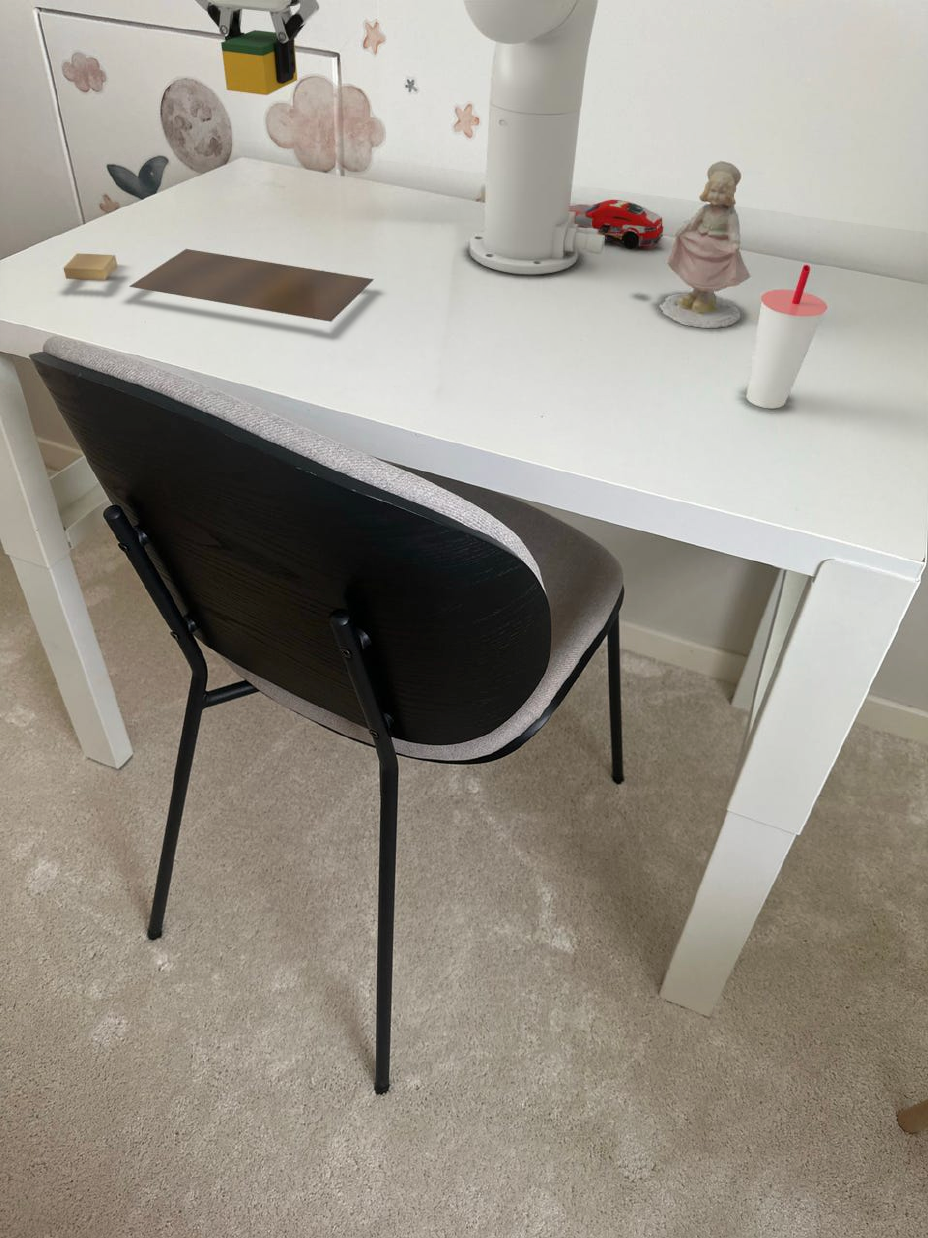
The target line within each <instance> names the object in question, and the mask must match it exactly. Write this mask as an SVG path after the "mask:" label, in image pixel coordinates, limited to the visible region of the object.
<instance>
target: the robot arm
mask: <svg viewBox="0 0 928 1238" xmlns="http://www.w3.org/2000/svg"><path fill="white" fill-rule="evenodd" d="M195 2H196V3H197V4H198V5H199V6H200V7H201V8H202V9H203V10H204V11H205V12H207V14H208V16H209V18H210V19H211V21H213V22H214V24H215V25H216V26H217V28H218V30H219V34H220V35H221V36H222V37H224V41H227V40H229V39H232V38H235V37H237V36H240V35H243V34H245V32H242V30H241V27H242V26H241V23H242V16H243V10H251V11H257V12H258V11H259V12H269V16H270V18H271V21H272V25H273V28H274V32H276V35H277V42H275V43H274V54H275V65H276V76H277V82H278V83H280V84H284V83H286V82H288V81H290V80H292V79H293V77H294V73H295V69H297V66H296V67H295V55H296V53H295V54H294V43H295V39H297V37H298V34H299V33H300V32H301V30H302V29H303V28H304V27H305V25H306V24H307V22H308V21H310V20H311V19H312V18H313V17H314V16H315V15H316V14H317V12H319V10H320V4H319V2H318V1H317V0H195ZM598 3H599V0H463V4H464V7H465V10H466V13H467V15H468V17H469V18H470V20H471V22H472V24H473V25H474V26H475V27H476V29H477V30H478V31H479V32H480V33H481V35H483V36H485V37H486V38H488V39H489V40H491V41H494V42H495V45H494V52H493V58H492V68H491V76H490V94H489V98H490V99H489V108H488V109H489V110H488V127H487V128H488V129H487V149H486V151H487V152H486V153H487V154H486V169H485V170H486V171H485V172H486V173H485V174H486V175H485V191H484V193H485V194H484V211H483V212H484V216H483V230H481V231H479V232H477V233H476V234H474V235H473V236H471V239H470V240H469V245H468V247H469V248H468V249H469V254H470V257H471V258H472V259H473V260H474V261H476V262H477V263H478V264H480V265H481V266H484V267H487V268H489V269H492V270H495V271H499V272H503V273H509V274H515V275H546V274H553V273H557V272H561V271H563V270H567V269H568V268H570V267H572V266H573V265H574V264H575V263H576V262H577V261H578V259H579V252H580V251H585V252H586V253H593V254H600V255H602V254H603V252H604V248H605V243H606V240H605V235H598V229H593V228H582V227H578V224H574V221H575V212H571V211H569V210H570V206H571V201H572V192H573V182H574V171H575V165H576V164H575V163H576V155H577V146H578V145H577V144H578V137H579V126H580V117H581V109H582V102H583V95H584V94H583V93H584V85H585V77H586V69H587V61H588V54H589V49H590V43H591V37H592V33H593V27H594V24H595V17H596V13H597V9H598ZM298 5H299V9H298V10H297V11H296V12H295V13H294V14H293V11H292V8H291V7H294V6H298ZM293 39H294V41H293Z"/></svg>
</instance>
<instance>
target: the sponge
mask: <svg viewBox="0 0 928 1238" xmlns="http://www.w3.org/2000/svg"><path fill="white" fill-rule="evenodd" d="M293 41H294V54H295V67H296V69H295V73H294V77H293V79H292V80H290V81H288V82H286V83H284V84H280V83H278V82H277V76H276V65H275V54H274V43H275V42H277V35H276V32H275V31H267V30H260V29H259V30H257V29H254V30H251V31H249V32H246V33H244V34H243V35H240V36H237V37H235V38H232V39H229V40H227V41H225V40H224V41H222V42H220V44H221V52H222V53H221V54H222V59H223V60H222V62H223V69H224V78H225V85H226V86H225V88H226V91H233V92H240V93H248V94H255V95H262V96H268V95H271V94H272V93H274V92H276V91H278V90H280V89H283V88H284V87H286V86H288V85H291V84H293V83H294V82H296V81H298V71H297V57H296V55H297V54H296V43H295V39H293Z"/></svg>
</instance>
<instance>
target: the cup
mask: <svg viewBox="0 0 928 1238" xmlns="http://www.w3.org/2000/svg"><path fill="white" fill-rule="evenodd" d="M810 272H811V267H810V265H809V264H803V266H802V268H801V272H800V275H799V278H798V282H797V284H796V288H795V289H783V288H782V289H771V290H768V291H765V292H764V293H762V294H761V295H760V301H761V304H760V309H759V310H760V311H759V316H758V320H757V321H758V322H757V328H756V334H755V340H754V344H753V345H754V346H753V352H752V358H751V365H750V370H749V377H748V383H747V390H746V399H747V401H748V402H749V403H750V404H753V406H757V407H759V408H764V409H779V408H781V407H783V406H784V405H786V402H787V400H788V397H789V395H790V394H791V391H792V388H793V386H794V384H795V382H796V380H797V377H798V374H799V372H800V370H801V368H802V366H803V363H804V362H805V361H804V360H805V358H806V356H807V354H808V351H809V349H810V347H811V344H812V342H813V340H814V337H815V334H816V333H817V330H818V327H819V325H820V323H821V320H822V319H823V316H824V313H826V311H827V310H828V305H827V303H826V302H825V301H824V300H823V299H821V298H820V297H818V296H816V295H814V294H811V293H809V292H806V291H805V288H806V285H807V282H808V278H809V275H810Z"/></svg>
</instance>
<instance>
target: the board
mask: <svg viewBox="0 0 928 1238" xmlns="http://www.w3.org/2000/svg"><path fill="white" fill-rule="evenodd" d="M373 281H374V279H373V278H368V277H363V276H357V275H350V274H344V273H338V272H331V271H325V270H319V269H313V268H307V267H300V266H294V265H288V264H282V263H276V262H271V261H264V260H258V259H252V258H245V257H239V256H233V255H227V254H220V253H214V252H208V251H201V250H196V249H189V248H185V249H184V250H182V251H181V252H179V253H177V254H176V255H175V256H172V257H171V258H170V259H168V260H167V261H165V262H163V263H162V264H160V265H159V266H158V267H156V268H155V269H153V270H152V271H150V272H148V273H147V274H146V275H144V276H143V277H141V278H140V279H138V280H137V281H135V282H133V283H132V284H131V285H129V288H133V289H139V290H144V291H145V290H147V291H152V292H158V293H162V294H169V295H175V296H181V297H186V298H191V299H199V300H203V301H208V302H215V303H221V304H227V305H232V306H238V307H244V308H249V309H254V310H260V311H267V312H272V313H273V312H274V313H278V314H285V315H290V316H297V317H301V318H307V319H313V320H319V321H324V322H332V321H333V320H334V319H335V318H336V317H338V315H340V314H341V313H342V312H343V311H344V309H345V308H347V307H348V306H349V305H350V304H351V303H352V302H353V301H354V300H355V299H356V297H358V296H359V295H360V294H361V293H362V292H363V291H364V290H365V289H366V288H367V287H368V286H369V285H370V284H371V283H372V282H373Z"/></svg>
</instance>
